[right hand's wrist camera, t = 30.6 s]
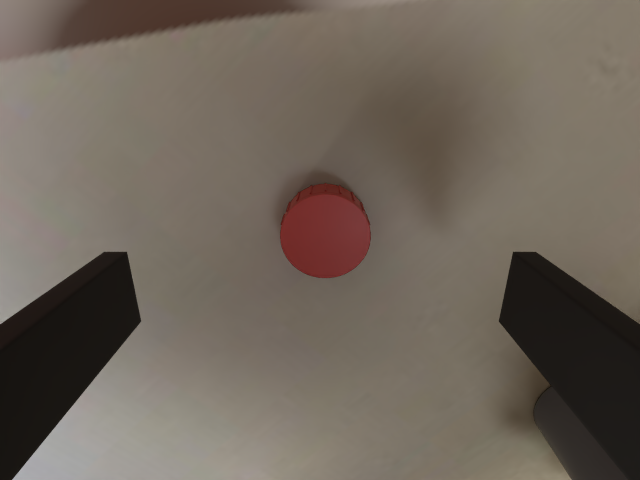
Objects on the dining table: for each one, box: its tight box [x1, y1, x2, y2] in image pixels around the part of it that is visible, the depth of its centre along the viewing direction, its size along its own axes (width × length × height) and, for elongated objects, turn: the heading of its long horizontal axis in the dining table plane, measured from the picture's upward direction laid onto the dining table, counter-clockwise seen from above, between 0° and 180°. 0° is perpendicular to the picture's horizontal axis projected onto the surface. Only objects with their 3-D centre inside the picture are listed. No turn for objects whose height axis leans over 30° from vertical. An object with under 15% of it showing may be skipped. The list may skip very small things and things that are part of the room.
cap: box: [280, 183, 371, 278], centre depth 17 cm, size 4×4×2 cm
